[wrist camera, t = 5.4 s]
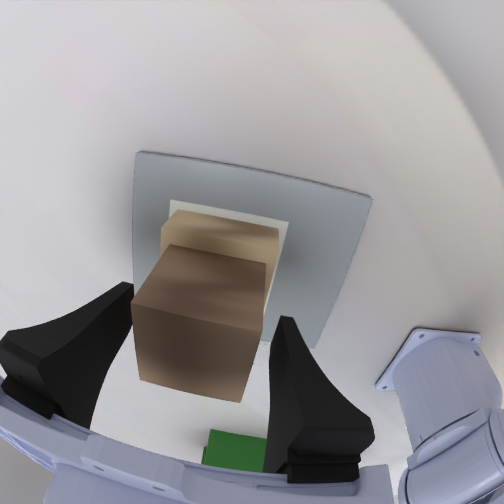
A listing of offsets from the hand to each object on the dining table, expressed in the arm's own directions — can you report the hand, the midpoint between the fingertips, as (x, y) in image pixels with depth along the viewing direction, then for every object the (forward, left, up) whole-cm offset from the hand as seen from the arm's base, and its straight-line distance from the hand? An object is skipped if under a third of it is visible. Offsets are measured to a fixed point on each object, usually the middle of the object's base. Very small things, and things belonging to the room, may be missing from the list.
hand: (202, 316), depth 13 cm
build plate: (-1, 0, -6) cm, 6 cm away
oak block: (0, 0, -5) cm, 5 cm away
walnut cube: (0, 0, -2) cm, 2 cm away
